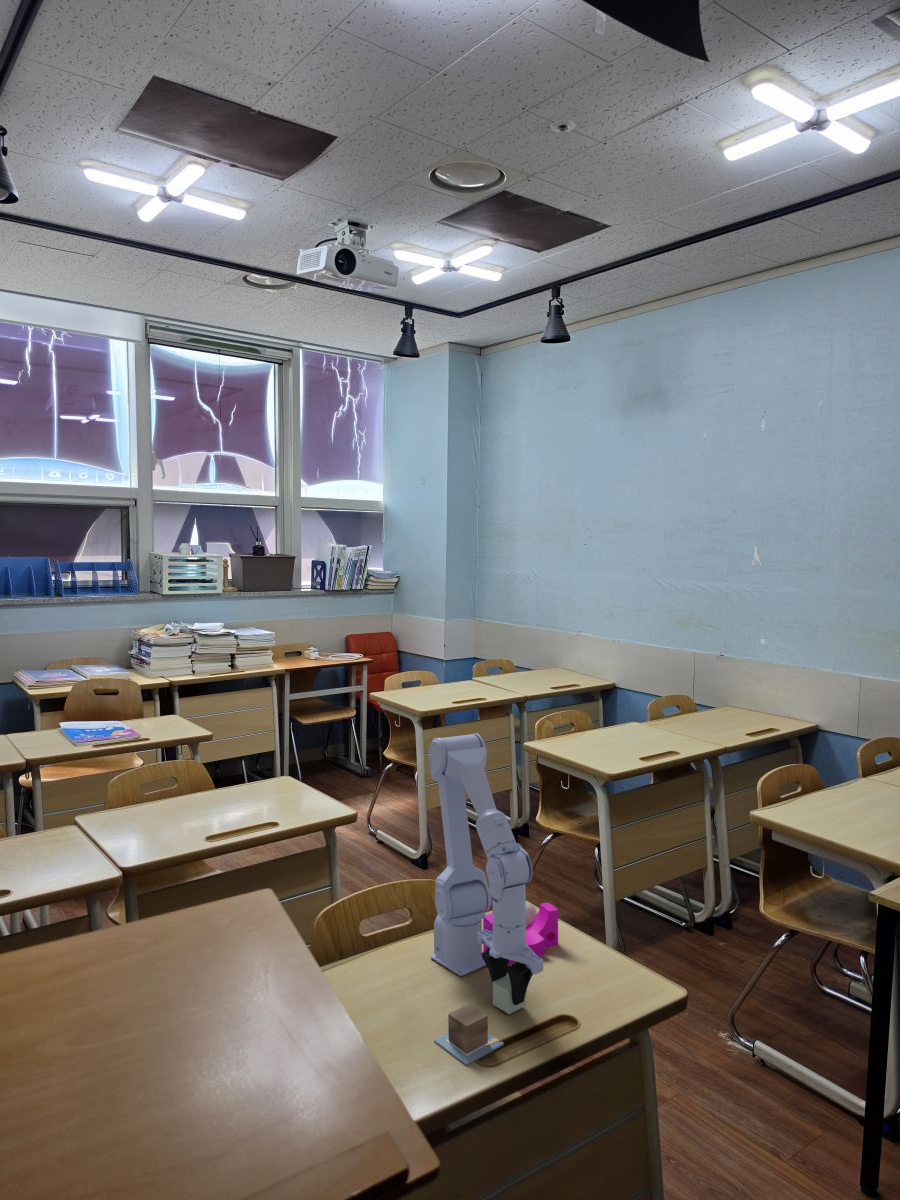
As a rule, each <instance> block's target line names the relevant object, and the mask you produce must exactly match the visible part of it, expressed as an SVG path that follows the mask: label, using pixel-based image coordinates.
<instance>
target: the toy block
mask: <svg viewBox="0 0 900 1200" xmlns="http://www.w3.org/2000/svg"><path fill="white" fill-rule="evenodd" d="M537 913H538V914H537V916H536V918H535V919H534V921H533V922H532V923H531V924H530V925H529V926H527V927H526V944H527V945H528V946H529V947H530V949H531V950H532V951H533V952H534V953H535V954H536V955H537V956H538V957H539V958H540V957H542V956H545V949H547V948H551V947H554V946H555V947H556V946H559V908H557V907H556V906H554V905H553V904H551V903H550V902H549V901H548V902H545V903H540V904H539V909H538V912H537ZM482 922H483V923H482V924H483V925H482V927H483V928H482V930H484V929H487V930H489V931H492V932H493V913H490V914H485V918H482ZM482 946H483V947H482V953H483V952H485V951H487V949H488V946H487V945H486V944H484V943H483V944H482ZM514 963H515V961H512V960H509V962H508V965H509V964H514Z"/></svg>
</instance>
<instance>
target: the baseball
mask: <svg viewBox="0 0 900 1200" xmlns="http://www.w3.org/2000/svg"><path fill="white" fill-rule="evenodd" d="M537 914H538V912H537V909H536V906H534V905H533V904H532V903H531V902H530V901H528V900H526V927H527V926H529V925H530V924H531V923H532V922H533V921H534V919H535V918H536V916H537Z"/></svg>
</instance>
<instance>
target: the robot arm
mask: <svg viewBox="0 0 900 1200" xmlns="http://www.w3.org/2000/svg"><path fill="white" fill-rule="evenodd" d="M487 756H488V753H487V747H486V742H485V739H484V738H483V737H482V736H481V734H479V733H477V732H474V733H471V734H465V735H464V734H463V735H455V736H448V737H434V738H433V739H432V741H431V743H430V746H429V748H428V761H429V769H430V776H431V780H433V781H436V782H437V784H438V793H439V801H440V802H439V804H440V810H441V819H442V820H441V821H442V827H443V828H442V829H443V839H444V846H445V854H446V866H447V867H446V868H444V870H443V871H442V872H441V873H440V875H438V876H437V878H436V879H435V880H434V881H435V883H434V884H435V893H434V905H435V910H436V913H437V915H436V918H435V920H434V923H433V954H431V955H430V958H431V960H433V961H435V962H437V963H438V964H440V965H442V966H443V967H445V968H447V969H449V970H450V971H451V972H453V973H455V974H456V975H458V976H460V977H464V976H466V975H468V974H471V973H472V972H474V971H477V970H479V969H480V968H483V967H485V966H486V968H487V970H488V972H489V976H490V978H491V983H492V984H493V982H494V981H496V980H498V979H500V978H502V977H505V976H507V975H509V978H510V983H511V992H512V1001H513V1004H514V1005H518V1004H520V1003H522V1002H524V998H525V994H527V990H528V987H529V985H530V981H531V979H532V977H533V975H537V974H539V973H542V972H544V959H543V958H541V957H540V956H539V957H538V956H537V955H536V954H535V953H534V952H533V951H532V950H531V949H530V947H529V946H528V945H527V944H526V901H527V899H526V897H527V896H526V893H527V892H526V891H527V890H526V884H527V883H528V884H529V883H530V882H531V881H532V878H533V864H532V861H531V858H530V854H529V853H528V852H527V851H526V850H525V849H524V848H523V847H522V845H521V844H520V843H517V841H516V839H515V836H514V834H513V831H512V829H511V827H510V823H509V821H508V819H507V816H506V814H505V813H504V812H502V811H500V810H499V809H497V807H496V804H495V803H496V802H495V801H494V800H495V799H494V797H493V793H492V791H491V787H490V783H489V779H488V776H487V773H486V770H485V768H486V764H487V759H488V757H487ZM465 791H466V793H465ZM466 794H467V795H468V797H469V800H470V801H471V804H472V806H473V809H474V810H475V812H476V815H477V816H478V818H477V819H476V822H475V828H476V831H477V833H478V835H477V836H478V837H479V839H480V843H481V845H482V848H483V851H484V853H485V855H486V859H487V862H486V865H485V871H486V872H484V871H483V870H482V869H480V868H478V867H477V866H475V865H474V861H473V852H472V844H471V843H472V842H471V836H470V835H471V834H470V828H469V827H470V825H469V817H468V809H467V801H466ZM491 905H492V914H493V932H492V931H489V930H487V929H484V930H483V928H482V927H483V925H482V924H483V923H482V922H483V918H485V915H486V913H487V912H488V911H489V910H490V908H491ZM483 943H484V944H486V945H487V946H488V949H487V951H485V952H483V947H482V946H483ZM509 960H512V961H515V962H514V963H512V964H511V965H509V964H508V962H509Z"/></svg>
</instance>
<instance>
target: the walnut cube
mask: <svg viewBox="0 0 900 1200" xmlns="http://www.w3.org/2000/svg"><path fill="white" fill-rule="evenodd" d="M447 1016H448V1019H447V1020H448V1029H447V1031H448V1032H447V1033H449V1041H450V1042H451V1043H452V1044H454V1045H455V1046H456V1047H458V1048H459V1049H461V1050H462V1051H463V1052H465V1053H466V1054H468V1053H470V1052H471V1051H473V1050H475V1049H477V1048H479V1047H481V1046H483V1045H484V1044H486V1043H488V1033H489V1030H488V1029H489V1026H488V1025H489V1019H488V1017H489V1015H488V1014H487V1013H485V1012H483V1011H482V1010H480V1009H478V1008H477V1007H475V1006H474V1005H472V1004H471V1003H467V1004H465V1005H463V1006H462V1007H459V1008H457V1009H455V1010H453V1011H451V1012H449V1013H448V1015H447Z"/></svg>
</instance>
